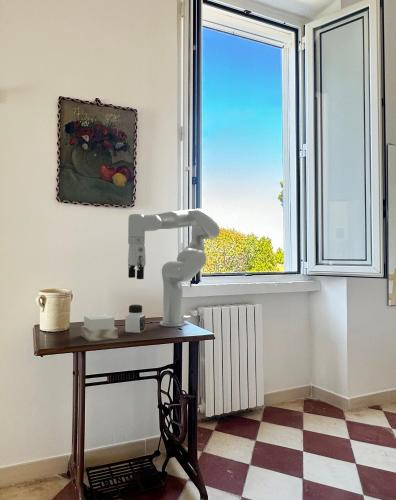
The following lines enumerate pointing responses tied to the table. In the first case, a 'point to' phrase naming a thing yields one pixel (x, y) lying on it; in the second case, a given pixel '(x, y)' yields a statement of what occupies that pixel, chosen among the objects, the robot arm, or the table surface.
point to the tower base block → (99, 334)
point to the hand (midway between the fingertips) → (135, 278)
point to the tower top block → (98, 322)
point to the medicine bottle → (135, 319)
